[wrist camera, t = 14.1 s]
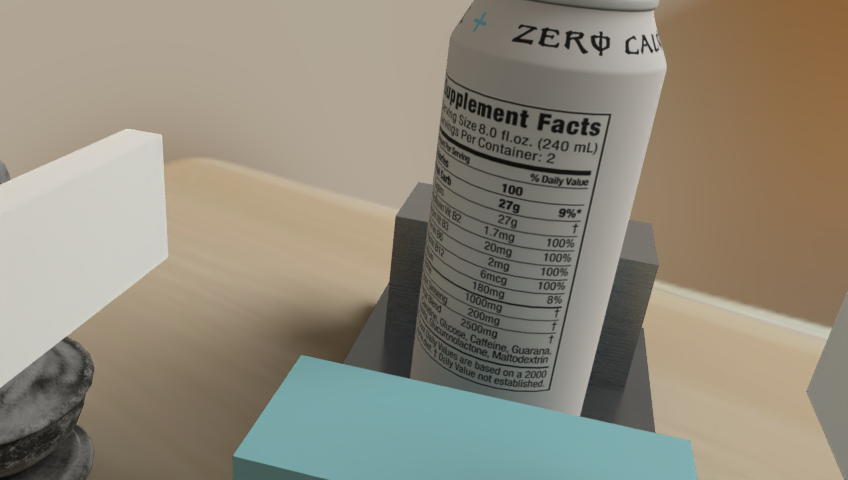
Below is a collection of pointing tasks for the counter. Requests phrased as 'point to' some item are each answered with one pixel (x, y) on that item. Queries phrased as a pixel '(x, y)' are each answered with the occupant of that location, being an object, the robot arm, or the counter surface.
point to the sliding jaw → (437, 435)
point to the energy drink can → (533, 193)
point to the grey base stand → (618, 344)
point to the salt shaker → (46, 414)
